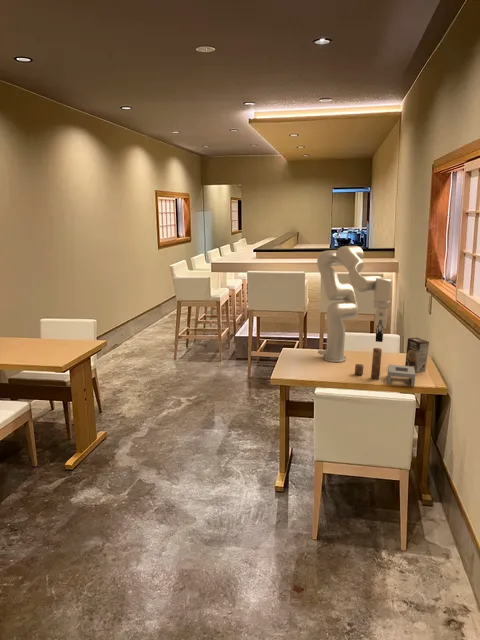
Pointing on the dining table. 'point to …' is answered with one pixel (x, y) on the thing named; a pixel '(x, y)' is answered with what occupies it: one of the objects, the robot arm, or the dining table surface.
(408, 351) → the coffee box
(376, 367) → the long pin
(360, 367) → the short pin
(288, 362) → the dining table surface
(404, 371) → the bridge
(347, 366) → the dining table surface
